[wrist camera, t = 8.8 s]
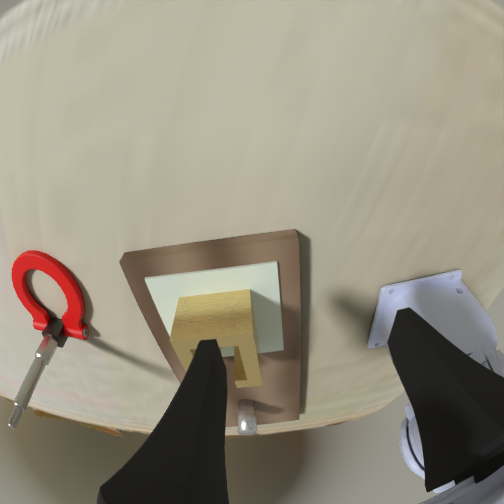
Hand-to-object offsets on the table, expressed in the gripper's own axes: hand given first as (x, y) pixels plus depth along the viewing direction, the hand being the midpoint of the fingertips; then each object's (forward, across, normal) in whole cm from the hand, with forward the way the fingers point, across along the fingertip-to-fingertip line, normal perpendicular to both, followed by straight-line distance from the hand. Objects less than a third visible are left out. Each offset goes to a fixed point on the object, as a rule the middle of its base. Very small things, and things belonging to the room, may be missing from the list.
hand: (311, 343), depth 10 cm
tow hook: (+10, +21, +3) cm, 23 cm away
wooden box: (+8, +5, +6) cm, 11 cm away
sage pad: (+8, +5, +6) cm, 11 cm away
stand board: (+9, +5, +14) cm, 17 cm away
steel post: (+8, +5, +20) cm, 22 cm away
